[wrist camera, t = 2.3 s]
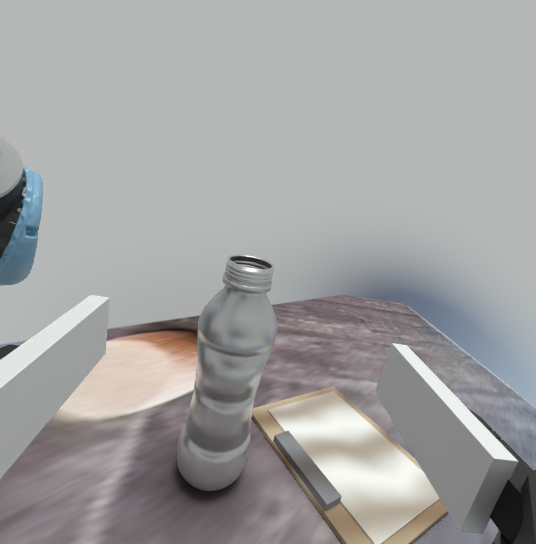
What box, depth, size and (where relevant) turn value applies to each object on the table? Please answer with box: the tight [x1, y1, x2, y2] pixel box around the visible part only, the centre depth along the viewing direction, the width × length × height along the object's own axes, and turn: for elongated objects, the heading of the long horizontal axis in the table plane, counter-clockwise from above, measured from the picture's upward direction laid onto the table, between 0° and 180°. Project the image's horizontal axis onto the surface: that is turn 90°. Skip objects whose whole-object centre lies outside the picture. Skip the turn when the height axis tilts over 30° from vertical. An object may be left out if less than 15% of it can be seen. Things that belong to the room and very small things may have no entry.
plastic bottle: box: [177, 255, 277, 491], centre depth 27 cm, size 6×7×20 cm
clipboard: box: [252, 387, 448, 544], centre depth 34 cm, size 18×14×1 cm
